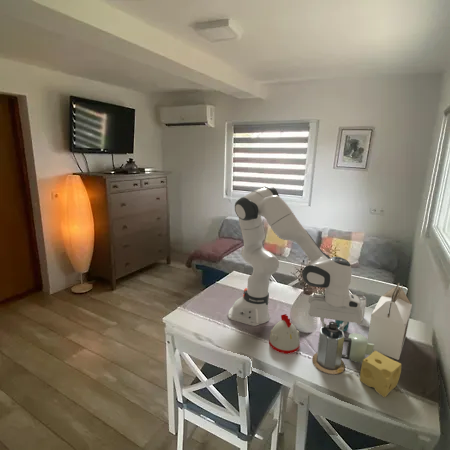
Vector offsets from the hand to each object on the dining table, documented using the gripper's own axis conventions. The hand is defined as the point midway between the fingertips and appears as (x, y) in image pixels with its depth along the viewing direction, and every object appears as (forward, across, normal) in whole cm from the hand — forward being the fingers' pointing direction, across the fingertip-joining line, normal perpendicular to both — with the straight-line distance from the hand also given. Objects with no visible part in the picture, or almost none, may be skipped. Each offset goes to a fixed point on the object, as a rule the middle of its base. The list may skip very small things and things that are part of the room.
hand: (332, 327), depth 119 cm
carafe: (+17, 0, 0) cm, 17 cm away
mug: (+17, +13, +8) cm, 23 cm away
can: (+17, +18, +42) cm, 49 cm away
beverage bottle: (+17, +8, +27) cm, 33 cm away
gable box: (+17, +28, +23) cm, 40 cm away
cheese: (+18, +18, -6) cm, 26 cm away
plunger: (+11, 0, 0) cm, 11 cm away
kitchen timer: (+17, -19, +8) cm, 27 cm away
